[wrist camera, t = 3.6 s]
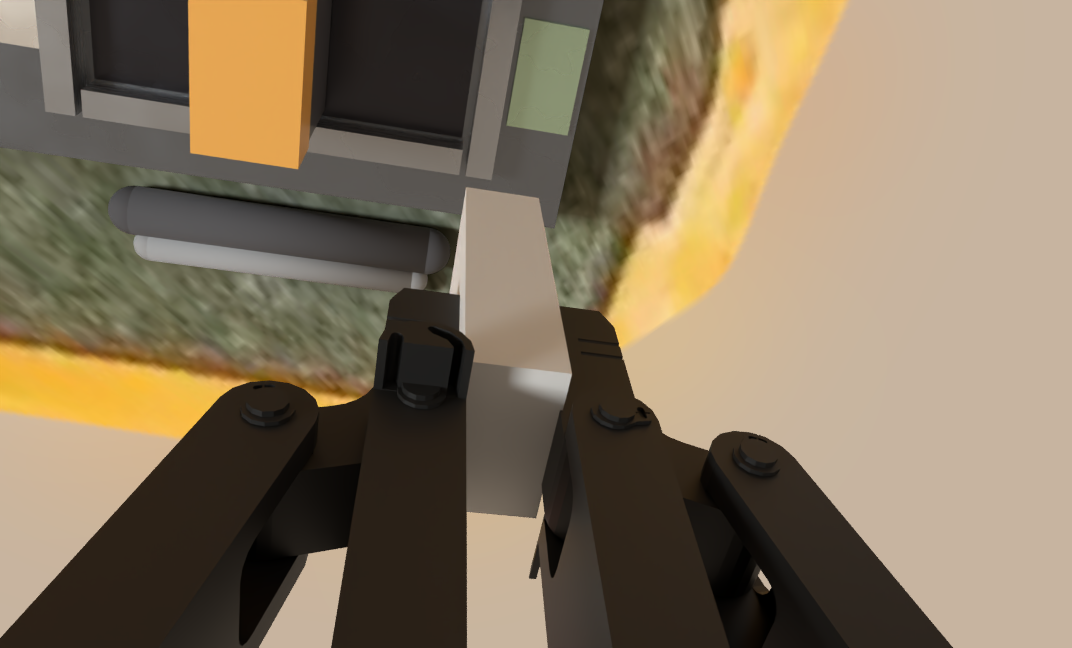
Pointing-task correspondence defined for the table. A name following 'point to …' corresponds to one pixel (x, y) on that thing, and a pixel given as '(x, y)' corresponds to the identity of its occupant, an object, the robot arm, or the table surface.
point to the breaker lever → (257, 77)
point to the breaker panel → (351, 95)
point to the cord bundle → (277, 240)
